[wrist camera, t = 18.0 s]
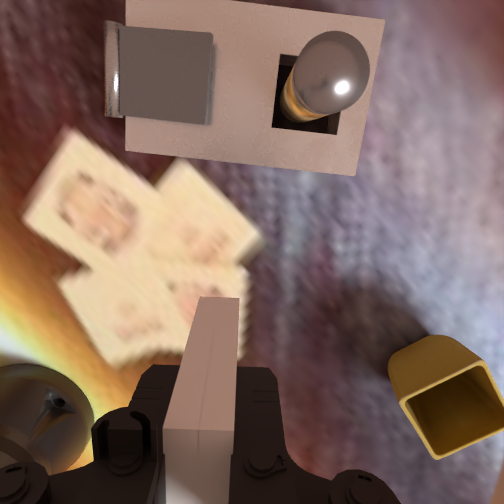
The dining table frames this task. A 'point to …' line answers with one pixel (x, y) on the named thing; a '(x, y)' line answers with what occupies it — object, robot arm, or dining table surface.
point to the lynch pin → (325, 77)
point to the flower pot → (446, 394)
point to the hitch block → (254, 86)
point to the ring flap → (157, 73)
